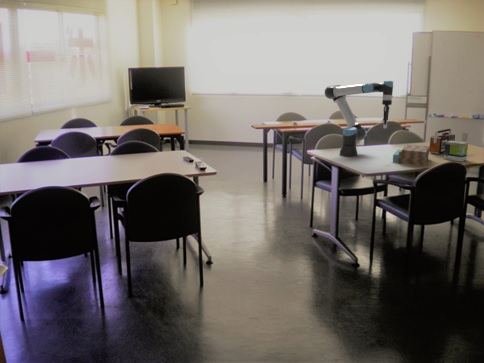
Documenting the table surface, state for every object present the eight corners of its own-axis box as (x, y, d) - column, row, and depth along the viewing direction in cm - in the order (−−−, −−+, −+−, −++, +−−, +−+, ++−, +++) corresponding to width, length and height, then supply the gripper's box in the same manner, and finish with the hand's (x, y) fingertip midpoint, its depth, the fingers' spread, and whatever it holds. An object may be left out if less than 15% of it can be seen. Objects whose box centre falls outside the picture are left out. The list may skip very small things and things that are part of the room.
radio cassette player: (439, 155, 431) (441, 132, 426) (427, 153, 438) (430, 131, 433) (454, 151, 451) (456, 129, 446) (442, 149, 458) (445, 127, 453)
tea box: (466, 160, 411) (468, 142, 407) (460, 161, 404) (463, 144, 400) (449, 157, 421) (451, 140, 418) (443, 159, 415) (445, 141, 411)
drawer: (392, 161, 400) (393, 154, 398) (397, 156, 421) (398, 149, 419) (422, 164, 390) (423, 157, 389) (425, 159, 411) (426, 152, 410)
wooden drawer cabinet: (397, 163, 396) (399, 149, 394) (403, 157, 421) (404, 144, 418) (424, 165, 388) (425, 152, 385) (428, 159, 412) (429, 146, 410)
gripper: (390, 100, 403) (388, 129, 409) (393, 99, 415) (390, 127, 420) (381, 100, 406) (378, 128, 412) (384, 99, 418) (381, 126, 424)
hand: (385, 128), depth 416 cm, fingers closed
